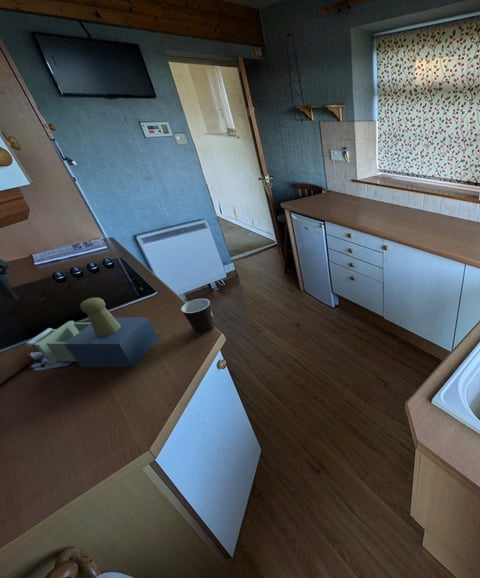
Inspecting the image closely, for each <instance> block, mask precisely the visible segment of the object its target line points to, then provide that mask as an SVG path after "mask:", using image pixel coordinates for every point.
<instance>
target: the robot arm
mask: <svg viewBox="0 0 480 578" xmlns="http://www.w3.org/2000/svg"><path fill="white" fill-rule="evenodd" d="M12 267H13V265H12V263H9V262H8V261H6V260H4V259H1V258H0V294H1V296H2V297H3V298H4V300H8V301H9V300H11V301H18V300H19V299H20V297H19V295H18V294H17V293H16V291H15V290H14V289H13V287H11V286H13V282H12V280H11V279H10V278H9V276H8V274H9V271H8V270H9V269H11V268H12Z"/></svg>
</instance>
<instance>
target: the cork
mask: <svg viewBox="0 0 480 578" xmlns="http://www.w3.org/2000/svg"><path fill="white" fill-rule="evenodd" d="M79 307H80V310H81V311H82V312H83V313H85V314H86V315H87V317H88V319H89V323H91V324H92V327H93V329H94V332H95V334H96V336H106V335H110V334H112V333H114V332H116V331H117V330H119V329H120V327H121V326H120V324H119V323H118V322H117V321H116V320H115V318H116V317H115V316H114V315H112V314H111V313H110V312H109V311H110V310H108V309H107V308H106V302H105V301H104V299H102V298H101V297H90V298H87V299H85V300H83V301H82V302H81V303H80V305H79Z"/></svg>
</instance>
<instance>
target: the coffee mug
mask: <svg viewBox="0 0 480 578" xmlns="http://www.w3.org/2000/svg"><path fill="white" fill-rule="evenodd" d="M181 312H182V314H183V315H184V317H185V318H186V320H187V321H188V323H189V325H190V326H191V328H192V329H193V331H194V333H196V334H199V335H203V334H207V333H208V332H209V333H210V332H211V331H213V329H214V328H215V321H214V316H213V310H212V306H211V301H210V300H209V299H207V298H196V299H192V300H189V301H188V302H186V303H184V304H183V305H182V306H181ZM212 325H213V326H212Z"/></svg>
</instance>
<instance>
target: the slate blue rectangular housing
mask: <svg viewBox="0 0 480 578" xmlns="http://www.w3.org/2000/svg"><path fill="white" fill-rule="evenodd" d="M114 318H115V320H116V321H117V322H118V323H119V324H120V326H121V327H120V329H119V330H117V331H116V332H114V333H112V334H110V335H106V336H96V334H95V332H94V329H93V327H92V324H90V325H89V326H87V327H86V328H85V329H83V330H82V331H81V332H79V333H78V334H77V335H75V336H74V337H73V338H71V339H70V340H69V341H67V342H66V343H65V346H66V347H67V348H68V350H69V351H70V352H71V354H72V355H73V356H74V358H75V359H76V360H77V361H76V362H77V363H78V365H79V366H80V368H134V367H136V365H137V364H138V363H139V361H141V359H142V358H143V357H144V356H145V355H146V354H147V353H148V352H149V351H150V350H151V349H152V348H153V347H154V346H155V345H156V344H157V343H158V342H159V340H160V339H159V337H158V335H157V333H156V331H155V329H154V327H153V325H152V323H151V321H150V319H149V317H114Z"/></svg>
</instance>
